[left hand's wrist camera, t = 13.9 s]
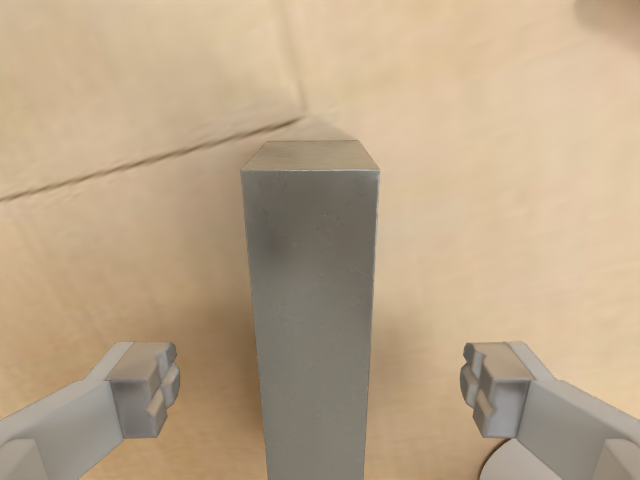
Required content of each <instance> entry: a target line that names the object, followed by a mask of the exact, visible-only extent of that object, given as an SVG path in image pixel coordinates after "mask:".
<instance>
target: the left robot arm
mask: <svg viewBox="0 0 640 480" xmlns="http://www.w3.org/2000/svg"><path fill="white" fill-rule="evenodd" d="M176 356H177V353H176V348H175V345H174V344H173V343H172V342H117V343H114V344H113V346H112V347H111V348H110V349H109V350H108V351H107V353H106V354H105V355H104V356H103V357H102V358H101V359H100V361H99V362H98V363H97V364H96V365H95V366H94V368H93V369H92V370H91V371H90V372H89V373H88V375H87V376H86V377H85V378H84V379H83V380H82V381H75V382H73V383H71V384H69V385H67V386H65V387H63V388H61V389H59V390H57V391H56V392H54V393H52V394H50V395H48V396H46V397H44V398H42V399H40V400H38V401H36V402H34V403H32V404H31V405H29V406H27V407H25V408H23V409H21V410H19V411H17V412H15V413H13V414H11V415H9V416H7V417H6V418H4V419H2V420H0V480H78V479H79V478H80V477H82V476H83V475H84V474H85V473H86V472H87V471H89V470H90V469H91V468H92V467H93V466H94V465H96V464H97V463H98V462H99V461H100V460H101V459H102V458H104V457H105V456H106V455H107V454H108V453H109V452H111V451H112V450H113V449H114V448H115V447H116V446H118V445H119V444H120V443H121V442H122V441H123V439H127V438H157V437H158V435H159V433H160V431H161V429H162V427H163V425H164V423H165V421H166V419H167V412H166V409H167V408H168V407H170V406H171V405H173V404H174V402H175V400H176V398H177V395H178V391H179V386H180V372H179V368H178V367H177V366H176V365H175V364H174V363H173V361H174V359H175V358H176ZM463 356H464V358H465V359H466V361H467V363H466V364H465V365H464V366H463V367H462V368H461V373H460V386H461V391H462V395H463V398H464V400H465V402H466V404H467V405H469V406H470V407H472V408H473V409H474V412H473V419H474V421H475V423H476V425H477V427H478V429H479V431H480V433H481V435H482V437H483V438H512V439H510V440H509V441H507V442H506V443H504V444H503V445H502V446H501V447H500V448H498V449H497V450H496V451H495V452H494V453H493V454H492V455H491V457H490V458H489V459H488V461H487V462H486V464H485V465H484V467H483V469H482V472H481V475H480V479H479V480H640V420H638V419H636V418H634V417H632V416H630V415H629V414H627V413H625V412H623V411H621V410H619V409H617V408H615V407H613V406H611V405H609V404H607V403H606V402H604V401H602V400H600V399H598V398H596V397H594V396H592V395H590V394H588V393H586V392H584V391H583V390H581V389H579V388H577V387H575V386H573V385H571V384H569V383H567V382H565V381H558V380H557V379H556V378H555V377H554V376H553V375H552V373H551V372H550V371H549V370H548V369H547V368H546V366H545V365H544V364H543V363H542V362H541V361H540V360H539V358H538V357H537V356H536V355H535V354H534V353H533V351H532V350H531V349H530V348H529V347H528V346H527V344H526V343H524V342H522V341H513V342H486V343H466V345H465V347H464V353H463Z"/></svg>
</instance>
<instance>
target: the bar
mask: <svg viewBox="0 0 640 480" xmlns="http://www.w3.org/2000/svg"><path fill="white" fill-rule="evenodd" d="M379 179H380V169H379V167H378V166H377V165H376V163H375V162H374V161H373V159H372V158H371V156H370V155H369V154H368V152H367V151H366V150H365V148H364V147H363V145H362V144H361V143H360V141H267V142H266V143H265V144H264V145H263V146H262V147H261V149H260V150H259V151H258V152H257V153H256V154H255V155H254V156H253V157H252V158H251V160H250V161H249V162H248V163H247V164H246V165H245V166H244V167H243V168H242V170H241V182H242V193H243V205H244V216H245V227H246V238H247V249H248V261H249V272H250V283H251V294H252V305H253V316H254V328H255V339H256V350H257V361H258V372H259V384H260V395H261V406H262V417H263V428H264V440H265V451H266V462H267V473H268V480H363V476H364V458H365V439H366V421H367V402H368V384H369V365H370V346H371V328H372V309H373V291H374V272H375V254H376V235H377V216H378V198H379Z"/></svg>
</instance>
